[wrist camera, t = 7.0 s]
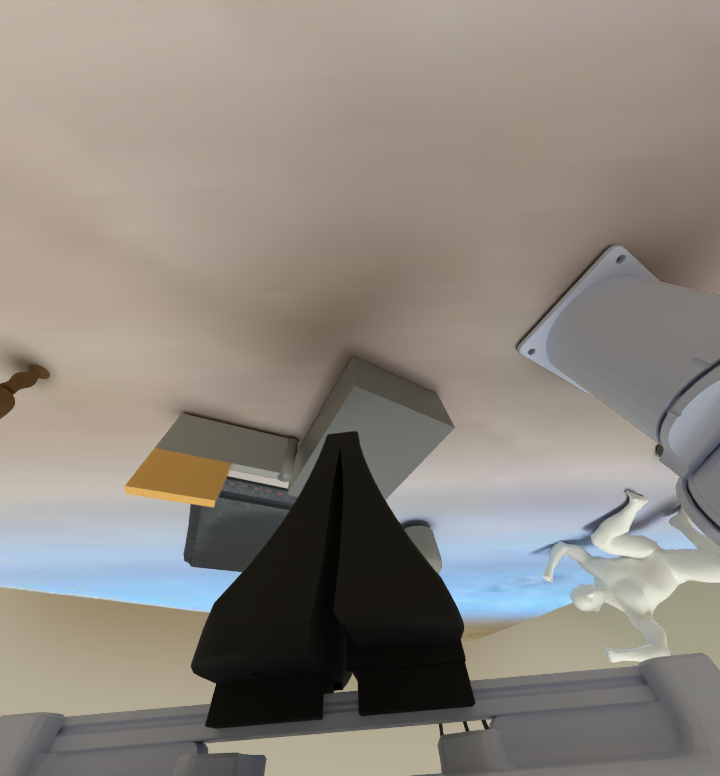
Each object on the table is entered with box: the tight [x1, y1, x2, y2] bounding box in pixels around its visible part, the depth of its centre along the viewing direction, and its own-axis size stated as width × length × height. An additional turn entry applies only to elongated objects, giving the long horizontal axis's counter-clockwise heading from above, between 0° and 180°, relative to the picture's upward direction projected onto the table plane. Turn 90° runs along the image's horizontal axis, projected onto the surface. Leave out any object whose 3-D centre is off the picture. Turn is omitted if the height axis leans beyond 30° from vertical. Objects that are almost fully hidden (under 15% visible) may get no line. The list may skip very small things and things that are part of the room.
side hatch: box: [125, 413, 298, 507], centre depth 20 cm, size 1×10×7 cm, turn 68°
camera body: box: [287, 356, 455, 500], centre depth 22 cm, size 8×13×4 cm, turn 152°
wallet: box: [184, 476, 298, 572], centre depth 32 cm, size 20×2×15 cm
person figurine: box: [542, 490, 720, 663], centre depth 33 cm, size 13×13×18 cm
